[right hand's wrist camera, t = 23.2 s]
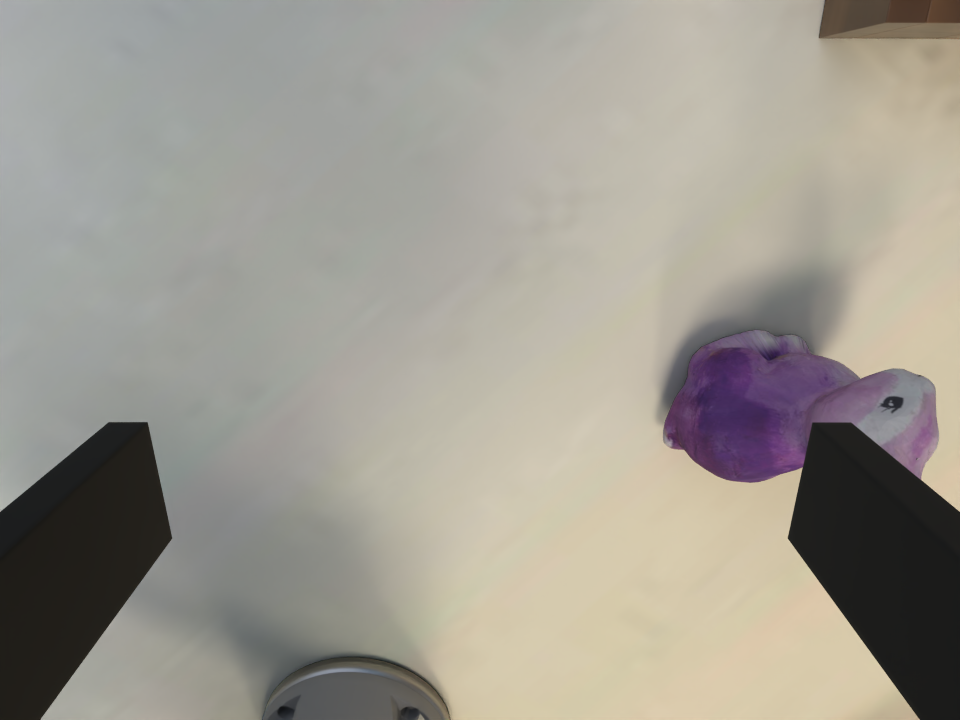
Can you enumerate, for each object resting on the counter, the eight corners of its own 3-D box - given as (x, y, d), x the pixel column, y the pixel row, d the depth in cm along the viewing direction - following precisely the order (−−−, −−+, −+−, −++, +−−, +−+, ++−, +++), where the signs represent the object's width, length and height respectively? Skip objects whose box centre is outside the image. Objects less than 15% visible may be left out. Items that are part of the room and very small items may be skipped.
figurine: (845, 322, 39) (1047, 436, 25) (780, 462, 43) (926, 629, 29) (702, 288, 39) (829, 387, 25) (648, 433, 42) (732, 591, 28)
